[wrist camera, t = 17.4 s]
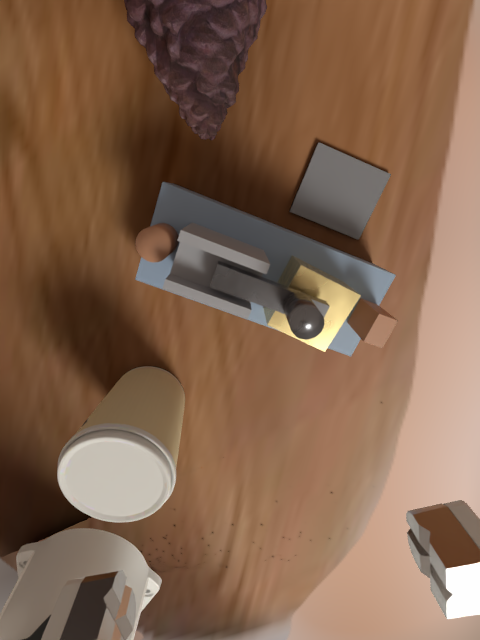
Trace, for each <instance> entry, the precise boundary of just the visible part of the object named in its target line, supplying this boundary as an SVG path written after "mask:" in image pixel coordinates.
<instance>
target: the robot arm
mask: <svg viewBox="0 0 480 640" xmlns="http://www.w3.org/2000/svg"><path fill="white" fill-rule="evenodd" d="M406 516H407V517H406V518H407V522H408V524H409V526H410V530H409V531H408V532H407V534H408V542H409V546H410V549H411V552H412V555H413V557H414V559H415V561H416V563H417V565H418V567H419V569H420V571H421V572H422V573H423V574H425V575H426V576H427V577H429V578H430V582H431V591H432V593H433V595H434V597H435V598H436V600H437V602H438V604H439V606H440V608H441V609H442V611H443V613H444V615H445V617H446V618H447V619H451V618H457V617H464V616H470V615H476V614H480V519H479V518H478V517H477V516H476V514H475V513H474V512H473V511H472V509H471V508H470V507H469V506H468V505H467V503H465V502H464V501H462V500H459V501H455V502H450V503H446V504H437V505H433V506H429V507H424V508H420V509H415V510H411V511H408V512H407V514H406ZM16 559H17V570H18V581H17V583H16V585H15V587H14V588H13V590H12V592H11V594H10V596H9V598H8V600H7V602H6V604H5V606H4V607H3V610H2V611H1V613H0V640H134V636H135V632H136V628H137V624H138V620H139V617H140V613H141V611H142V610H143V609H144V608H145V606H146V605H147V604H148V603H149V602H150V600H151V599H152V598H153V597H154V596H155V594H156V593H157V592H158V591H159V589H160V585H161V582H162V580H161V578H160V577H159V576H158V575H157V574H156V573H155V572H154V571H153V570H151V569H150V568H149V567H148V565H147V563H146V561H145V559H144V557H143V555H142V554H141V553H140V551H139V550H138V549H137V548H136V547H135V546H134V545H133V544H131V543H130V542H128V541H127V540H125V539H124V538H122V537H120V536H118V535H115V534H113V533H110V532H106V531H102V530H97V529H88V528H79V529H70V530H66V531H62V532H59V533H57V534H55V535H53V536H51V537H49V538H48V539H46V540H44V541H41V542H36V543H30V544H26V545H23V546H22V547H21V548H20V550H19V552H18V554H17V557H16Z"/></svg>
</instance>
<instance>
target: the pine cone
mask: <svg viewBox="0 0 480 640" xmlns="http://www.w3.org/2000/svg"><path fill="white" fill-rule="evenodd" d="M124 2H125V6H126V9H127V21H128V22H129V23H130V24H131V25H132V26H133V27H134V28H135V38H136V39H137V40H138V41H139V43H140V44H141V45H143V46H144V47H145V48H146V51H147V55H148V57H149V60H150V61H151V62H152V63H153V64H154V72H155V74H156V76H157V77H158V78H159V80H160V81H161V82H162V84H163V85H164V88H165V90H166V92H167V93H168V94H169V95H170V99H171V100H173V101H174V102H176V103H177V104H178V105H179V114H180V116H181V118H183V119H185V120H186V123H187V124H188V126H191V128H192V131H193V132H194V133H195V134H199V137H200V138H201V139H205V140H206V139H208V138H209V139H210V140H211V141H212V140H213V139H215V135H217V132H218V131H219V130H220V128H221V123H222V122H223V121H224V119H225V116H226V114H227V108H229V107H230V106H232V105H233V104H234V103H235V102H236V95H235V94H236V93H237V92H238V91H239V83H238V75H239V74H240V73H241V72H242V71H243V70H244V69H245V63H246V61H247V59H248V49H249V47H250V46H251V45H252V44H253V42H254V41H255V40H256V39H257V34H258V30H259V28H260V20H261V18H262V17H263V15H264V14H265V12H266V9H267V6H266V1H265V0H124Z"/></svg>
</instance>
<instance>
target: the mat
mask: <svg viewBox="0 0 480 640" xmlns="http://www.w3.org/2000/svg"><path fill="white" fill-rule="evenodd" d="M390 175H391V174H389V173H387V172H384V171H382V170H380V169H378V168H375V167H373V166H371V165H369V164H366V163H364V162H362V161H360V160H357V159H355V158H353V157H351V156H349V155H346V154H344V153H342V152H340V151H337V150H335V149H333V148H331V147H328V146H326V145H324V144H322V143H319V142H318V143H317V146H316V148H315V150H314V153H313V155H312V158H311V160H310V162H309V165H308V167H307V170H306V172H305V175H304V177H303V179H302V182H301V184H300V187H299V189H298V192H297V194H296V196H295V199H294V201H293V204H292V206H291V209H290V211H289V212H292V213H294V214H297V215H299V216H301V217H304V218H306V219H309V220H311V221H314V222H316V223H319V224H321V225H323V226H326V227H328V228H331V229H333V230H336V231H338V232H341V233H343V234H345V235H348V236H350V237H353V238H355V239H358V240H359V238H360V236H361V234H362V232H363V230H364V228H365V226H366V224H367V222H368V220H369V218H370V216H371V214H372V212H373V210H374V208H375V206H376V204H377V202H378V200H379V198H380V196H381V194H382V192H383V190H384V188H385V185H386V183H387V181H388V179H389V177H390Z"/></svg>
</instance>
